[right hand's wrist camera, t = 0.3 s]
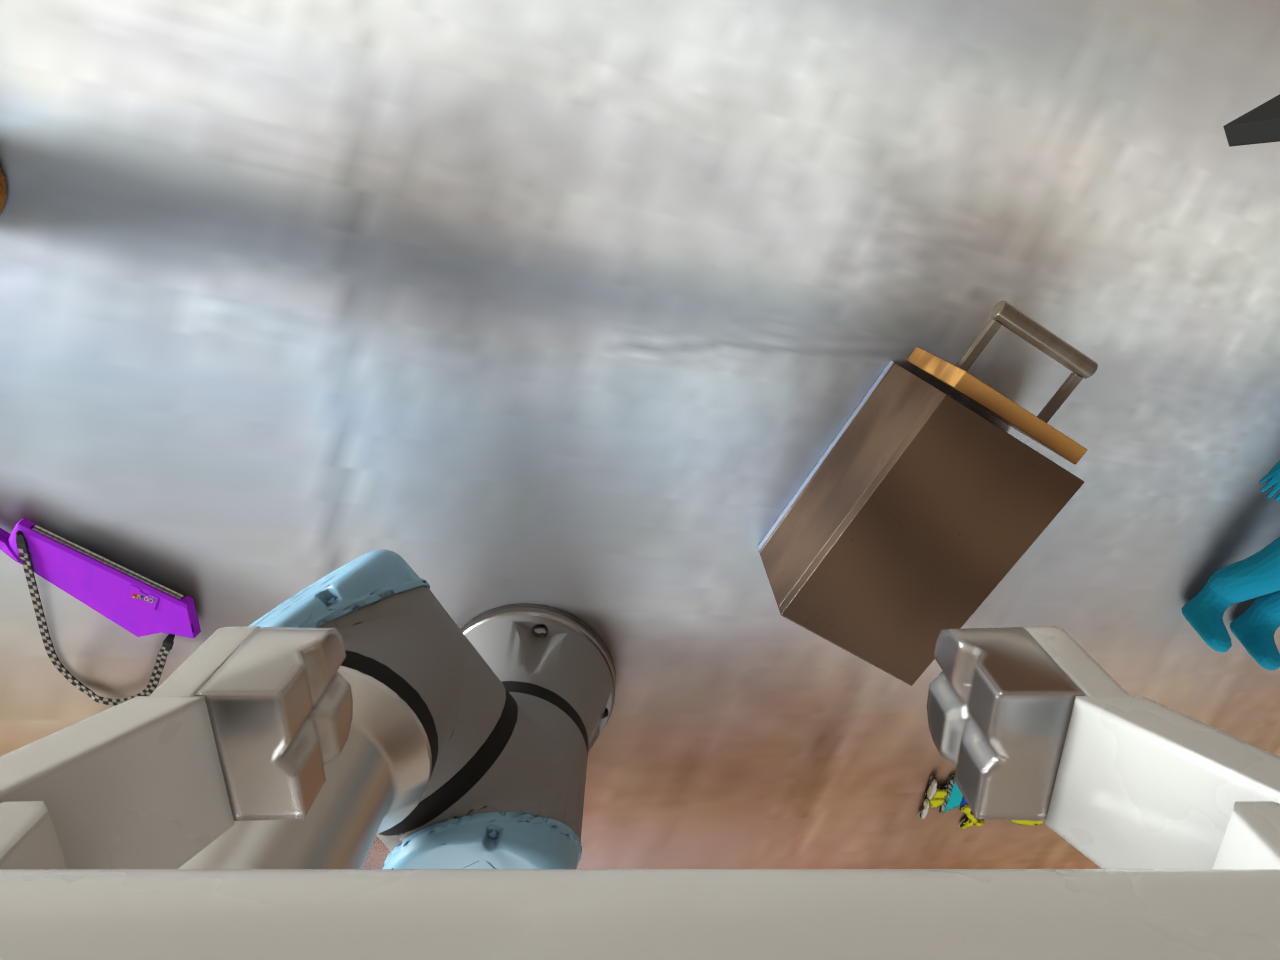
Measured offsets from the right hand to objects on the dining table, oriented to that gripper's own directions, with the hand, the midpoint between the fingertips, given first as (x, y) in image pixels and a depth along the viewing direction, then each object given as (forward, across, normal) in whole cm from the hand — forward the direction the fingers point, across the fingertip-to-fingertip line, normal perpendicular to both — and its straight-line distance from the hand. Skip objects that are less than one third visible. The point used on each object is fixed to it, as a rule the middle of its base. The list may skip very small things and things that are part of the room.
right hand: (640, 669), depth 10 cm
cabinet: (+48, -19, +16) cm, 54 cm away
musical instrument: (+48, +49, +25) cm, 73 cm away
